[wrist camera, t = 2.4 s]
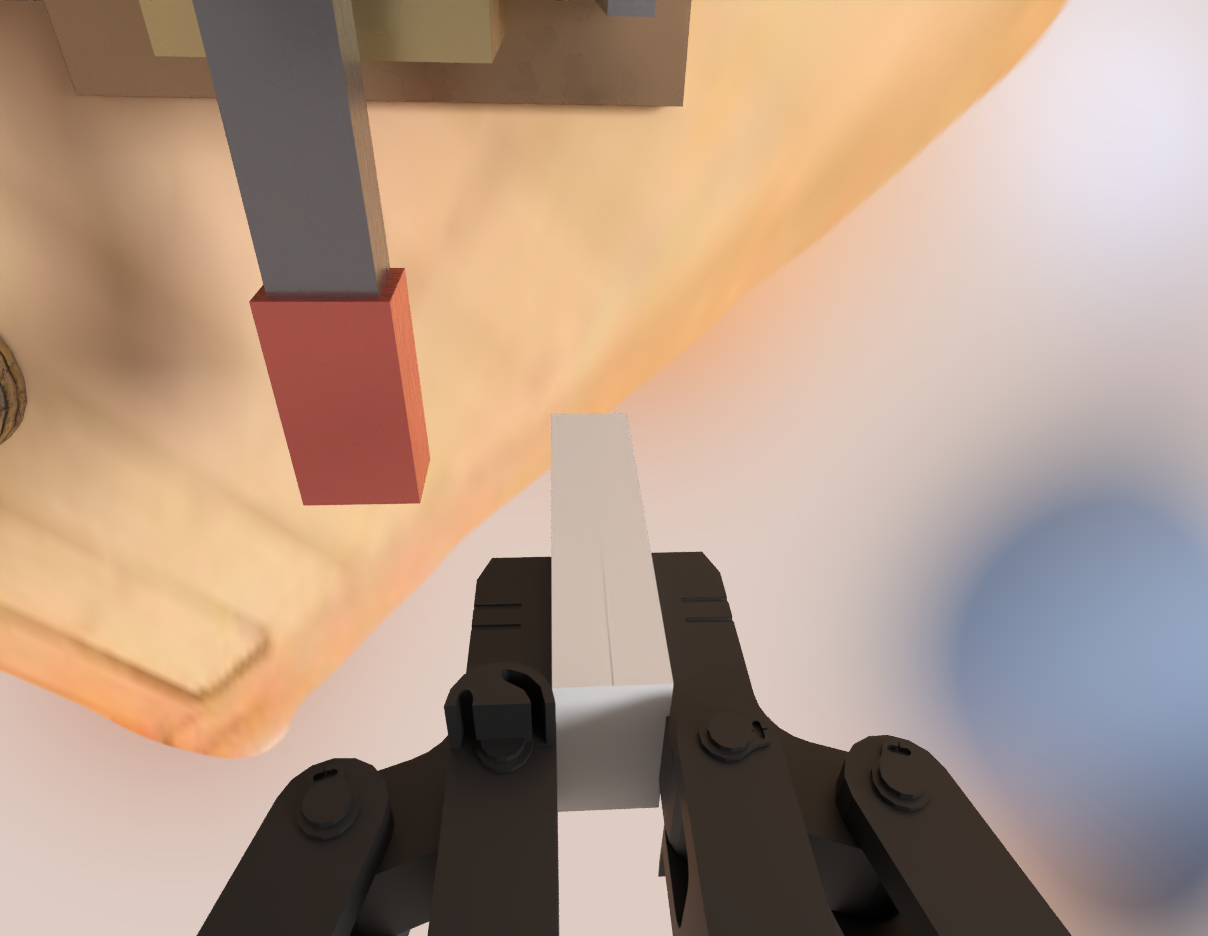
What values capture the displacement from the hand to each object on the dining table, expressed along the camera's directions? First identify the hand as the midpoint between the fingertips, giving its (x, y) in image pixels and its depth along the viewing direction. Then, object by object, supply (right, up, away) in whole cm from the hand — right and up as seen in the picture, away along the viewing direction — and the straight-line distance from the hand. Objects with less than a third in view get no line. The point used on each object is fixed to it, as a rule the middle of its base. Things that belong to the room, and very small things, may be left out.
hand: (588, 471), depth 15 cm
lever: (-6, +7, +3) cm, 10 cm away
